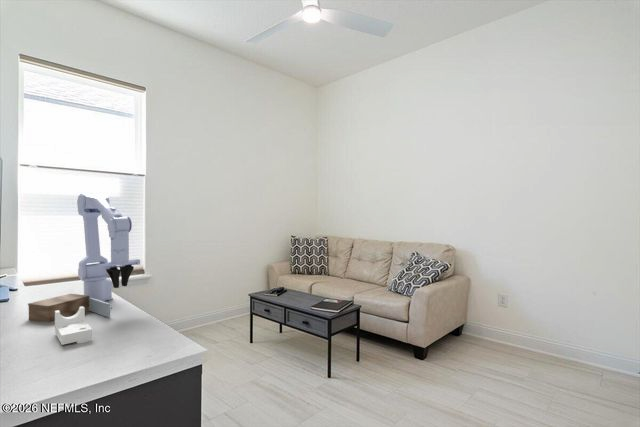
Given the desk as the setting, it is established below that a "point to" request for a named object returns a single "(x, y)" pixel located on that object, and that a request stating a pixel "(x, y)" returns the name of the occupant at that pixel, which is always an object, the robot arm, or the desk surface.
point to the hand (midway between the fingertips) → (120, 286)
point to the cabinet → (57, 307)
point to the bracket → (72, 328)
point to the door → (99, 307)
